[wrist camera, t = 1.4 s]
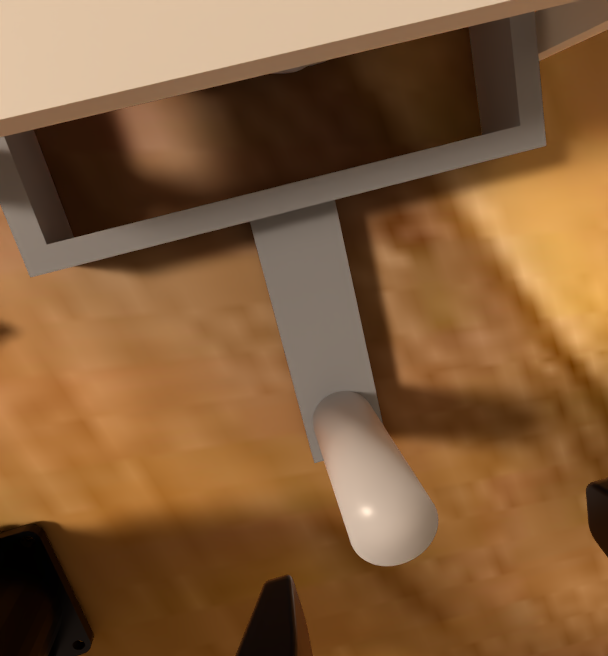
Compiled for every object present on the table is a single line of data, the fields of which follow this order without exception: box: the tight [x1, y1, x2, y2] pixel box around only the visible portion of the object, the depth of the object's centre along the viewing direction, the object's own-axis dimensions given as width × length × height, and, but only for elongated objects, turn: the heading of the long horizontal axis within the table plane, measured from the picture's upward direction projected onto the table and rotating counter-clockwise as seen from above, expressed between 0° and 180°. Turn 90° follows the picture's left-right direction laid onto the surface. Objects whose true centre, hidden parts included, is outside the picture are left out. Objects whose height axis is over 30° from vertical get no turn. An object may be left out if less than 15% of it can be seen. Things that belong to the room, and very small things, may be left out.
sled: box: [0, 11, 546, 566], centre depth 13 cm, size 26×17×7 cm, turn 13°
